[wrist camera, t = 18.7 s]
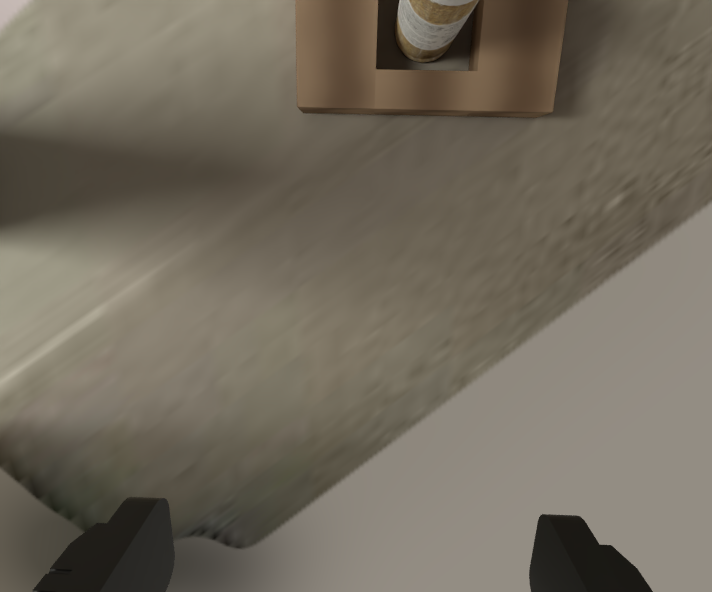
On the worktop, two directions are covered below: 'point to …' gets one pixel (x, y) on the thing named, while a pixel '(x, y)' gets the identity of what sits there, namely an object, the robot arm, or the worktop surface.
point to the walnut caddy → (430, 87)
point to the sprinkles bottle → (429, 26)
